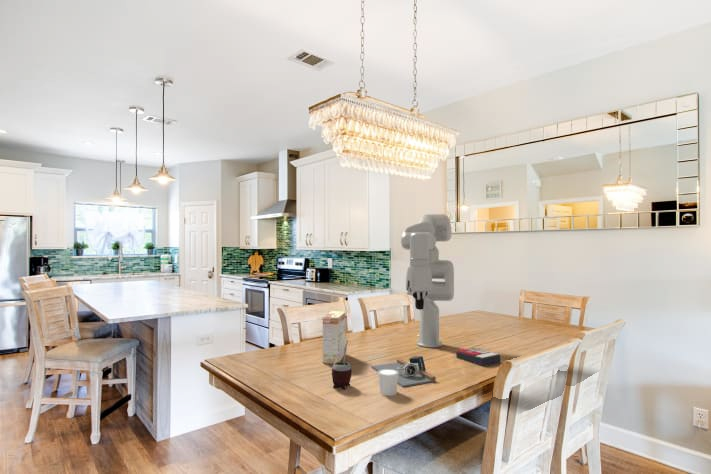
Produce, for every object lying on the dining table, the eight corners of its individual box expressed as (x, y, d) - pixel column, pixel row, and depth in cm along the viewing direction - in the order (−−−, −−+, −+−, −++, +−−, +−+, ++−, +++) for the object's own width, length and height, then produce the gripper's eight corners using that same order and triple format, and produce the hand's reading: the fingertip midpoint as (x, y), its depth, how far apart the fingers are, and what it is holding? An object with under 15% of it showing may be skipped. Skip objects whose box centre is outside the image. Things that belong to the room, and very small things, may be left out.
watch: (429, 370, 150) (411, 379, 143) (414, 370, 156) (395, 379, 148) (426, 355, 151) (407, 364, 143) (410, 356, 157) (392, 364, 149)
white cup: (400, 390, 134) (400, 369, 134) (395, 397, 127) (395, 376, 127) (381, 387, 136) (381, 367, 136) (375, 395, 130) (375, 373, 130)
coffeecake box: (331, 353, 179) (331, 310, 179) (346, 354, 177) (346, 311, 178) (321, 363, 164) (321, 316, 164) (338, 364, 163) (338, 317, 163)
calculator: (472, 346, 179) (500, 352, 166) (473, 356, 178) (500, 363, 166) (455, 350, 173) (482, 356, 160) (456, 359, 173) (483, 367, 160)
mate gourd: (335, 391, 132) (336, 347, 133) (328, 383, 140) (328, 341, 140) (355, 388, 135) (356, 345, 136) (347, 381, 143) (347, 340, 143)
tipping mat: (371, 367, 158) (371, 363, 158) (400, 363, 164) (400, 358, 164) (402, 387, 137) (402, 382, 137) (435, 381, 142) (435, 376, 142)
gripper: (429, 262, 163) (429, 305, 163) (398, 263, 157) (398, 308, 157) (440, 263, 156) (440, 309, 156) (408, 264, 150) (408, 312, 150)
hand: (419, 308), depth 156 cm, fingers closed
